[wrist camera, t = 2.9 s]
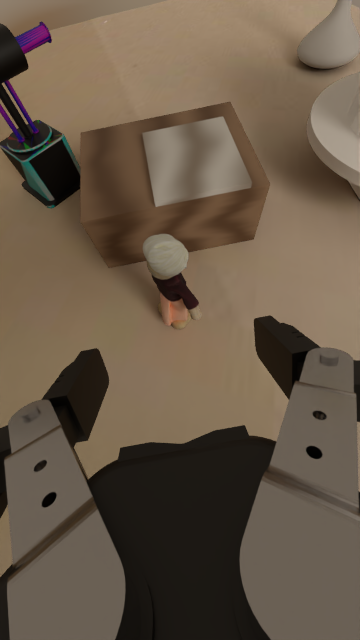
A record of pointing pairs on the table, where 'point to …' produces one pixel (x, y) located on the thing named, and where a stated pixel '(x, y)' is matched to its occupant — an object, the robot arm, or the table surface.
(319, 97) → the ribbed cylinder on disc
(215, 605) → the robot arm
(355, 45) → the flower in vase
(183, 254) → the grandmother figurine
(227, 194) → the stand
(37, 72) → the table surface
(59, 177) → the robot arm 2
